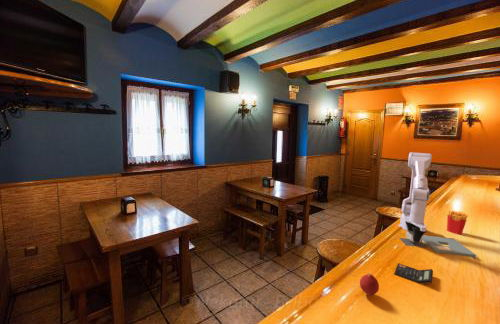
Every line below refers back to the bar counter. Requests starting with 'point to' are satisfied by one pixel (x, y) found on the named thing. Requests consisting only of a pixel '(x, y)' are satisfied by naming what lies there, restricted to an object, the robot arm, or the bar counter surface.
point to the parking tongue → (407, 242)
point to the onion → (369, 284)
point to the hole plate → (453, 249)
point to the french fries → (456, 222)
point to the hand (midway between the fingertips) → (413, 238)
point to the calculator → (414, 274)
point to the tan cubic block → (412, 237)
